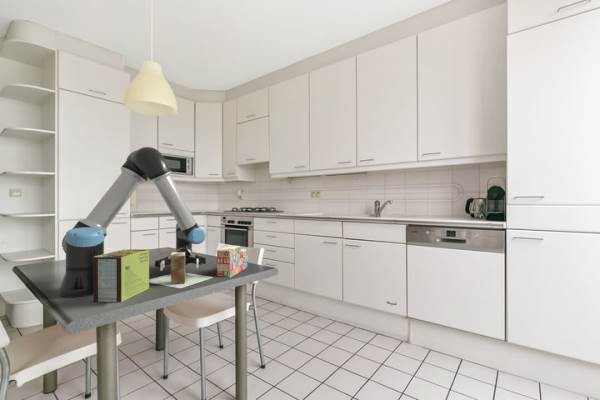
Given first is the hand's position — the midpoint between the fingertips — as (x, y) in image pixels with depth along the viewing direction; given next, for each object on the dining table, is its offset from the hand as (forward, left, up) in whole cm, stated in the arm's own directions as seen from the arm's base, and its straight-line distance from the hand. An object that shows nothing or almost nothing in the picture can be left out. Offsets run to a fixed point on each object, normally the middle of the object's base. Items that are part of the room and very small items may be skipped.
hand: (179, 266), depth 119 cm
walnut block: (-1, 0, -7) cm, 7 cm away
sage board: (-5, +4, -7) cm, 10 cm away
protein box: (-7, -19, -8) cm, 22 cm away
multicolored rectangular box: (+6, +26, -8) cm, 28 cm away
